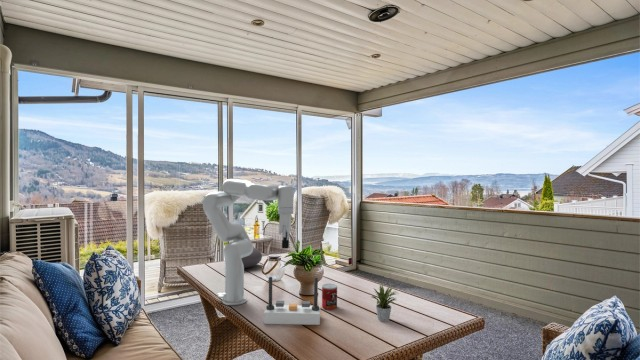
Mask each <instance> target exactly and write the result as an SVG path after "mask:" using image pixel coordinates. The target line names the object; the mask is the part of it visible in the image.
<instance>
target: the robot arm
mask: <svg viewBox="0 0 640 360" xmlns="http://www.w3.org/2000/svg"><path fill="white" fill-rule="evenodd" d="M221 188H222V191H212V192H209V193H207V194H206V195H205V196H204V198H203V200H202V209H203V212H204V214H205V216H206V218H207V219H208V220H209V222H210V225H211V226H212V228H213V229H214V231H215V234H216V236H217V237H218V240H220V241H221V242H223V243H224V242H225V243H227V244H226V245H225V246H224V248H223V258H224V262H225V263H224V264H225V265H224V269H225V270H224V271H225V272H224V273H225V278H224V279H225V281H224V282H225V287H224V288H225V289H224V291H225V292H223V293H222V292H218V293H217V295H216V296H217V298H218V299H221V303H222V304H223V305H226V306H239V305H242V304H245V303H247V301H248V299H247V297H246V296H245V293H244V292H245V277H244V276H245V268H244V265H243V262H242V260H241V258H243V257H246V256H249V255H250V254H251V253H252V251H253V247H254V245H253V242H252V241H251V239H250V237H249V235H248V233H247V231H246V229H245V227H244V226H243V225H242V224H241V223H239V222H236V221H234V222H230V221H229V219H228V218H227V216H226V214H225V212H223V211H222V210H221V209H220V208H224V207H226V208H227V207H230V206H232V205H233V204H235V202H237V200H239V199H240V198H241V197H243V198H248V199H252V200H257V201H274V200H277V213H278V215H279V223H278V224H279V225H278V227H279V228H278V234H279V235H282V237H281V238H282V239H281V248H282V249H289V248H290V240H289V237H290V235H289V234H291V231H292V230H291V229H292V215H294V192H295V191H294V187H293V186H292V185H279V184H256V183H254V182H252V181H251V180H243V179H241V178H229V179H226V180H224V182H223V183H222V186H221ZM230 241H231V242H230ZM228 242H229V243H228Z"/></svg>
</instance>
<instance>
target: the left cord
mask: <svg viewBox="0 0 640 360" xmlns="http://www.w3.org/2000/svg"><path fill="white" fill-rule="evenodd" d="M274 305H275V304H273V277H272V276H269V277H268V304H267V305H266V306H265V307H266V308H265V310H266V309H267V310H273V309H274Z"/></svg>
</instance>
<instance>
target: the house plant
mask: <svg viewBox="0 0 640 360" xmlns="http://www.w3.org/2000/svg"><path fill="white" fill-rule="evenodd" d="M393 289H394V286H392V287H391V285H389V286H388V287H387V288H386V289H385V288H384V285H383V284H379V288H378V289H376V288H373V290H374V293H375V295H376V296H377V297H378V298H377V297H376V296H374V295H372V296H370V298H372V299H374V300H376V305H375V309H376V314H377V320H378V321H380V322H384V323H385V322H389V321H390V317H391V311H392V305H390V303H391V304H393V305H395V302H394V301H396V297H393V296H394V295H396V294H399V291H397V290H395V291H393V292H392V290H393ZM377 290H379V291H377Z"/></svg>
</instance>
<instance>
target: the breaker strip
mask: <svg viewBox="0 0 640 360" xmlns="http://www.w3.org/2000/svg"><path fill="white" fill-rule="evenodd" d="M273 305H274V309H273V310H267V309H266V308H265V310H264V312H263V317H264V318H263V323H264V325H305V326H306V325H313V326H315V325H319V326H320V324H321V309H320V310H319V311H313V310H312V306H313V305H310V307H302V304H301V305H299V304H297V310H289V304H284V307H276V304H273ZM318 306H319V307H320V308H321V305H318Z"/></svg>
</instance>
